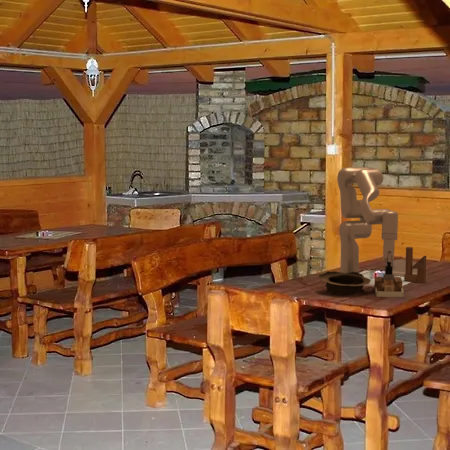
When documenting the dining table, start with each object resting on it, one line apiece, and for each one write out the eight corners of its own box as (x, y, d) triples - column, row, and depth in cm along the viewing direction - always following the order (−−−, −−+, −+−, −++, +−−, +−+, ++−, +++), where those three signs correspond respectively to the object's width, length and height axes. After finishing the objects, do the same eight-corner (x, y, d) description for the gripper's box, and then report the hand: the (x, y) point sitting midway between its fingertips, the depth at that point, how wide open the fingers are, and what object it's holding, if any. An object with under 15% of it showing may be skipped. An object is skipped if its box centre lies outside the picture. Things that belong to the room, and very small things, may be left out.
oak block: (384, 293, 400) (384, 281, 399) (383, 292, 404) (384, 279, 403) (392, 293, 399) (392, 281, 398) (392, 292, 403) (392, 280, 402)
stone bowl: (330, 285, 423) (332, 267, 422) (376, 293, 411) (378, 275, 410) (310, 292, 402) (311, 274, 401) (358, 301, 390) (360, 282, 388)
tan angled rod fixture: (423, 283, 431) (424, 248, 429) (403, 281, 437) (404, 247, 435) (425, 282, 434) (426, 248, 432) (406, 280, 440) (407, 246, 438)
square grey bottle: (383, 283, 403) (384, 254, 401) (383, 281, 406) (384, 253, 404) (393, 283, 402) (394, 254, 400) (393, 282, 405) (394, 253, 404)
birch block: (384, 293, 400) (384, 295, 396) (384, 285, 399) (384, 286, 395) (392, 293, 399) (393, 295, 395) (393, 285, 399) (393, 287, 395)
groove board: (375, 292, 406) (375, 281, 405) (374, 287, 419) (374, 276, 418) (402, 292, 404) (402, 281, 403) (400, 288, 417) (400, 277, 416)
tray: (375, 296, 394) (376, 291, 394) (375, 292, 406) (375, 287, 405) (403, 297, 392) (403, 292, 392) (402, 292, 404) (402, 287, 404)
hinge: (386, 275, 455) (389, 257, 457) (389, 277, 459) (391, 259, 461) (416, 277, 447) (418, 259, 449) (419, 279, 451) (421, 261, 453)
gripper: (381, 233, 410) (380, 270, 412) (382, 238, 394) (381, 276, 396) (396, 234, 409) (395, 270, 411) (398, 238, 393) (397, 277, 395)
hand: (388, 273), depth 403 cm, fingers closed on square grey bottle, 3 cm apart
